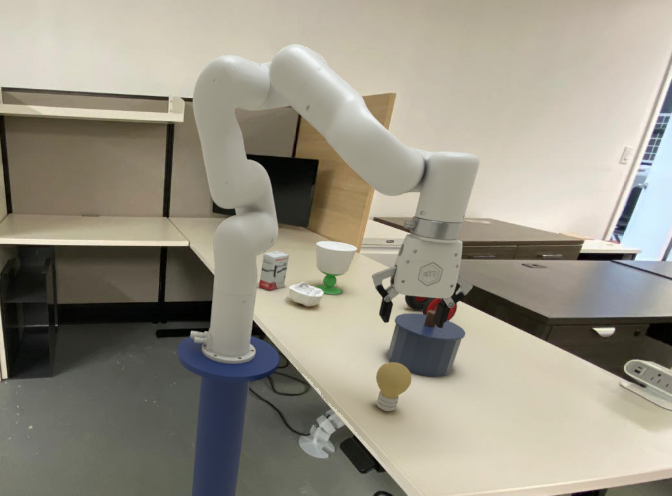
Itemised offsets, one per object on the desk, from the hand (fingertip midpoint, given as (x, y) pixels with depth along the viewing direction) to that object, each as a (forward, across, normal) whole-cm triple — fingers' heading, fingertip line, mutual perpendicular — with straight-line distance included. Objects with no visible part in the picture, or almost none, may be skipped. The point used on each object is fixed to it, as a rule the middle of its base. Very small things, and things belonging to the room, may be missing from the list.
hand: (410, 322), depth 86 cm
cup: (+19, -2, +77) cm, 79 cm away
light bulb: (+19, 0, 0) cm, 19 cm away
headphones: (+19, +26, +59) cm, 68 cm away
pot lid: (+9, +14, +24) cm, 29 cm away
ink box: (+18, -22, +74) cm, 79 cm away
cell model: (+19, -12, +59) cm, 63 cm away
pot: (+19, +14, +24) cm, 34 cm away
